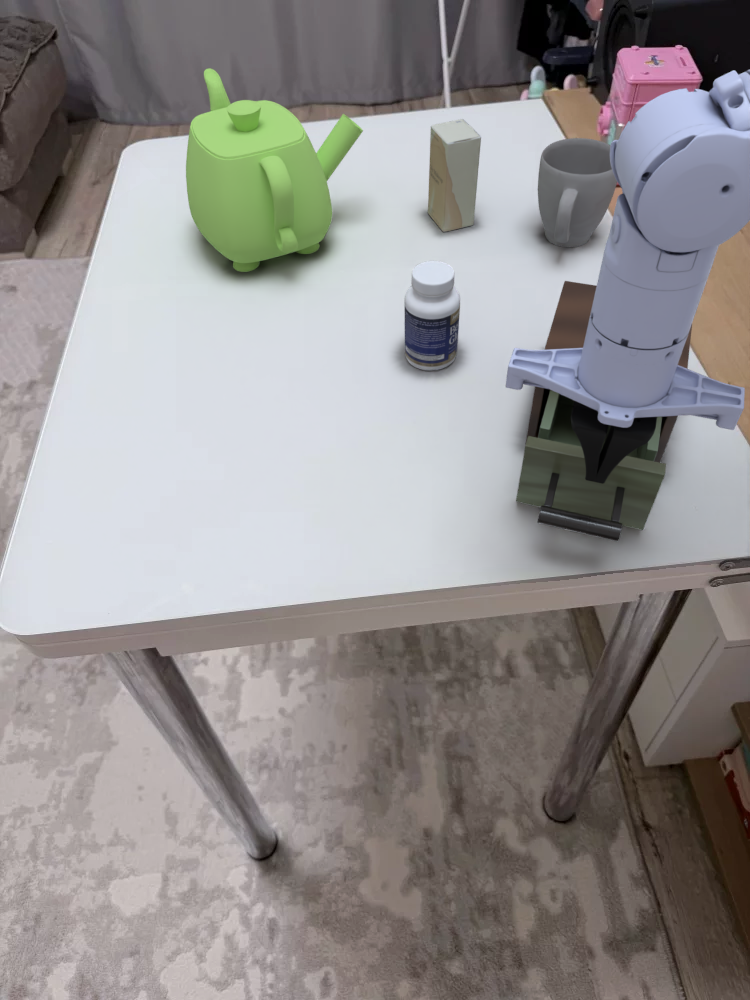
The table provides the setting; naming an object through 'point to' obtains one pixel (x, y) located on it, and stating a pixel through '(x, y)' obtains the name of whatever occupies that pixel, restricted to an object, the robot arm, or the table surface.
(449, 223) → the box
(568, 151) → the mug
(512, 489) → the table surface
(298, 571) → the table surface
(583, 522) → the drawer
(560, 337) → the cabinet
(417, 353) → the pill bottle
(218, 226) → the teapot
